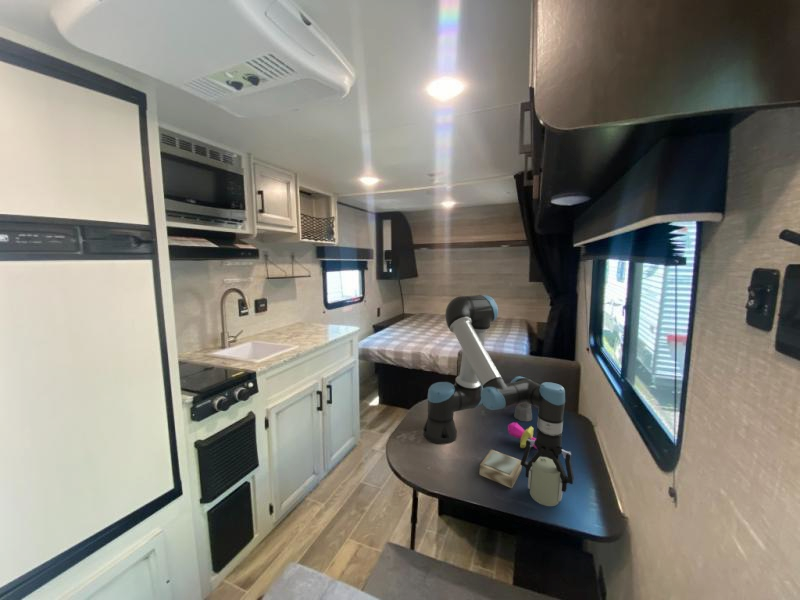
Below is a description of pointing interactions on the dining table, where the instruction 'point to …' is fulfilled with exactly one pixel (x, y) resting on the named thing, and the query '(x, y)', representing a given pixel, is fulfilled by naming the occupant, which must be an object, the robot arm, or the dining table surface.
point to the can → (545, 482)
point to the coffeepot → (523, 412)
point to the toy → (521, 433)
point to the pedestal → (501, 468)
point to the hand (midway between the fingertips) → (544, 492)
